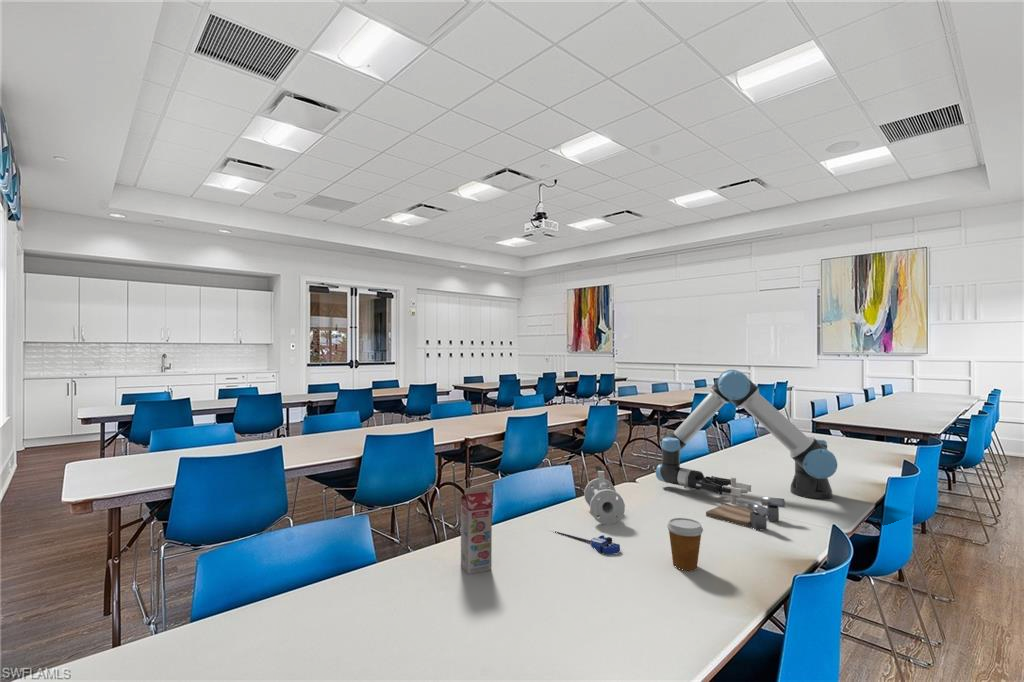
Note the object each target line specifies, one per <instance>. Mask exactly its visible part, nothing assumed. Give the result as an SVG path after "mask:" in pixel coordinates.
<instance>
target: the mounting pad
mask: <svg viewBox="0 0 1024 682" xmlns="http://www.w3.org/2000/svg"><path fill="white" fill-rule="evenodd" d="M750 512H753V511H751V510H749V509H748V508H745V507H742V506H737V505H735V504H731V503H724V504H721V505H718V506H716V507H714V508H712V509H709V510H706V512H705V516H706V517H708V516H709V518H712V517H713V518H712V519H717V520H719V519H720V521H723V520H725V521H724V522H727V521H729V522H728V523H731V522H733V523H732V524H734V523H736V524H735V525H738V524H740V525H739V526H742V525H744V526H743V527H745V526H749V527H750Z"/></svg>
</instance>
